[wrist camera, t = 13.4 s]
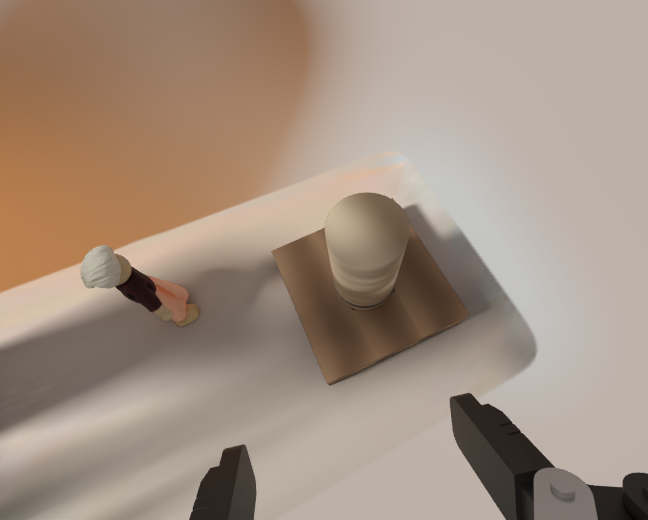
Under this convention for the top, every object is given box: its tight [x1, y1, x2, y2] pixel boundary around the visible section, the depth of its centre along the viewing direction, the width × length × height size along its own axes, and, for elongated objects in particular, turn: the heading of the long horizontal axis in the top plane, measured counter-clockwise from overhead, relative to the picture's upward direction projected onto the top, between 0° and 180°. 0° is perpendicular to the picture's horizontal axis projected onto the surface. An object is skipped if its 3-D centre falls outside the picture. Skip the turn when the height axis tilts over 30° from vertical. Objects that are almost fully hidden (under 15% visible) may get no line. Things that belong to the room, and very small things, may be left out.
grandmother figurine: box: [81, 245, 200, 327], centre depth 29 cm, size 8×4×13 cm, turn 61°
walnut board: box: [272, 198, 470, 385], centre depth 32 cm, size 14×14×3 cm
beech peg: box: [325, 193, 410, 311], centre depth 27 cm, size 6×6×13 cm
